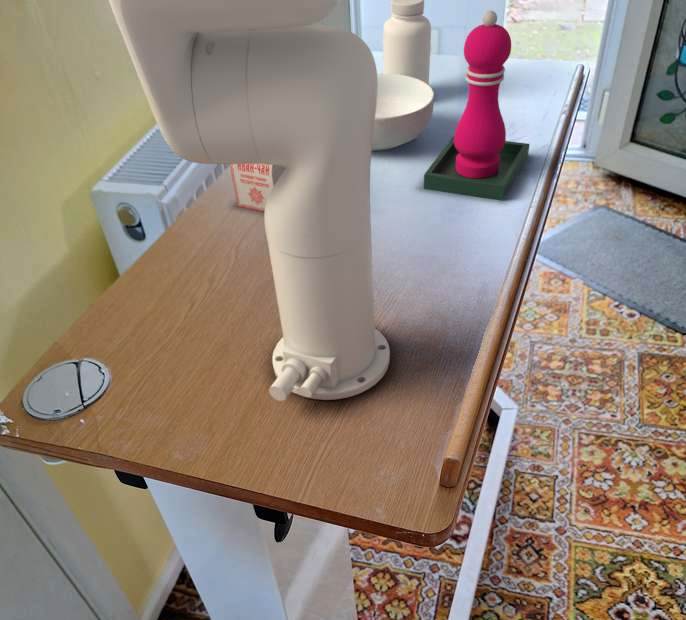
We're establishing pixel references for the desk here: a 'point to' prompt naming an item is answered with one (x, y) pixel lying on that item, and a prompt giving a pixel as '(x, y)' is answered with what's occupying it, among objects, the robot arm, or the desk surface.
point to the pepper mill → (483, 100)
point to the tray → (491, 187)
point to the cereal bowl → (400, 110)
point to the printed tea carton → (254, 183)
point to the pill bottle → (407, 40)
